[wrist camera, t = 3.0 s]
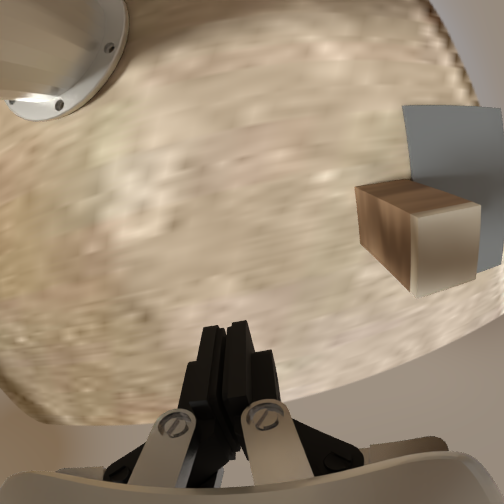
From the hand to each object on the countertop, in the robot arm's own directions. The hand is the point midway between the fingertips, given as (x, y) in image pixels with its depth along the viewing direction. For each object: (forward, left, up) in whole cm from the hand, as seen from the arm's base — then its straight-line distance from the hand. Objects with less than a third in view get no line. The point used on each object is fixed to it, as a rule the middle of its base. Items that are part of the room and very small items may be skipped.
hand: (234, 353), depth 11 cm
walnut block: (-1, +12, -12) cm, 17 cm away
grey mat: (-1, +20, -12) cm, 24 cm away
